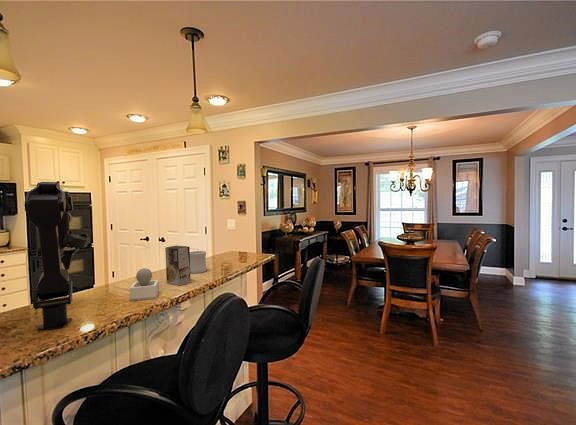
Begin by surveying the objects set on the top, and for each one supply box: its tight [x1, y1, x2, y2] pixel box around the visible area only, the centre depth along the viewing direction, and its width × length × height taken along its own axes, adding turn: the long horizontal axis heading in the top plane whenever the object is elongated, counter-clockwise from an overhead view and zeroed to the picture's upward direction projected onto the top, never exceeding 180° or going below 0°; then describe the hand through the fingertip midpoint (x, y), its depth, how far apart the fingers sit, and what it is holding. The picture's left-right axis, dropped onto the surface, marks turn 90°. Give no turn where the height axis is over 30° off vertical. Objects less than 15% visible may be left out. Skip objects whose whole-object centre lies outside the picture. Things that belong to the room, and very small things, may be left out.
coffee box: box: [164, 245, 192, 286], centre depth 133 cm, size 9×6×16 cm
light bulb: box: [135, 268, 153, 286], centre depth 114 cm, size 6×6×10 cm
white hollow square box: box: [129, 279, 160, 302], centre depth 115 cm, size 9×9×5 cm
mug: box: [190, 250, 208, 274], centre depth 153 cm, size 12×9×10 cm
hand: (61, 272), depth 104 cm, fingers open, 9 cm apart
